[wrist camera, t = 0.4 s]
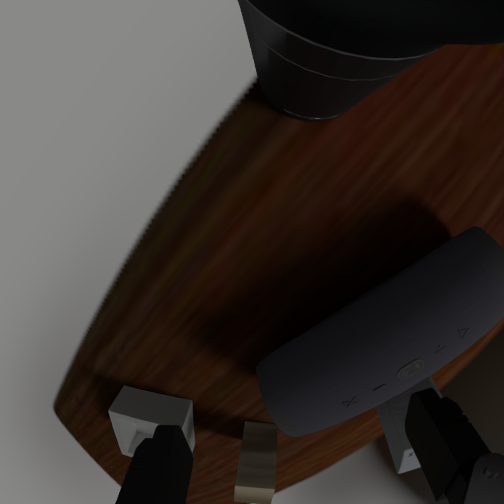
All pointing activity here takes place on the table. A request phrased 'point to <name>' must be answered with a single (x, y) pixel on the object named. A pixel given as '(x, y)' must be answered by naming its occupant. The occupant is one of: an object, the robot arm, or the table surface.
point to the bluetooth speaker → (386, 337)
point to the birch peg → (257, 464)
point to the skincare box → (401, 426)
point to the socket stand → (148, 417)
